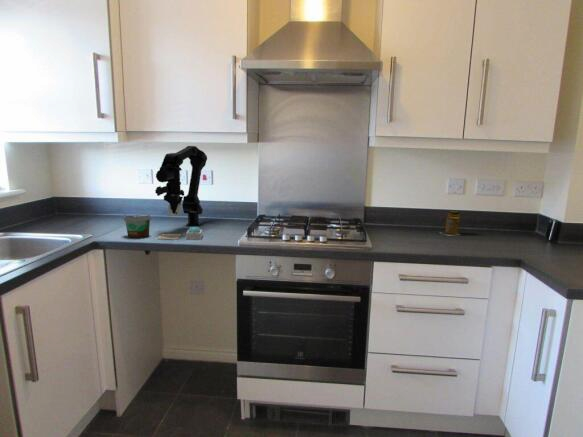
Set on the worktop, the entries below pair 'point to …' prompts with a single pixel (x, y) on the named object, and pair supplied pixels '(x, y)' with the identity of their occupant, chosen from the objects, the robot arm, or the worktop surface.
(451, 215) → the condiment
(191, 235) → the dome base
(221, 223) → the worktop surface
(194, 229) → the dome button
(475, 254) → the worktop surface
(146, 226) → the food container
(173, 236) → the birch tile
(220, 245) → the worktop surface
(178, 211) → the die
